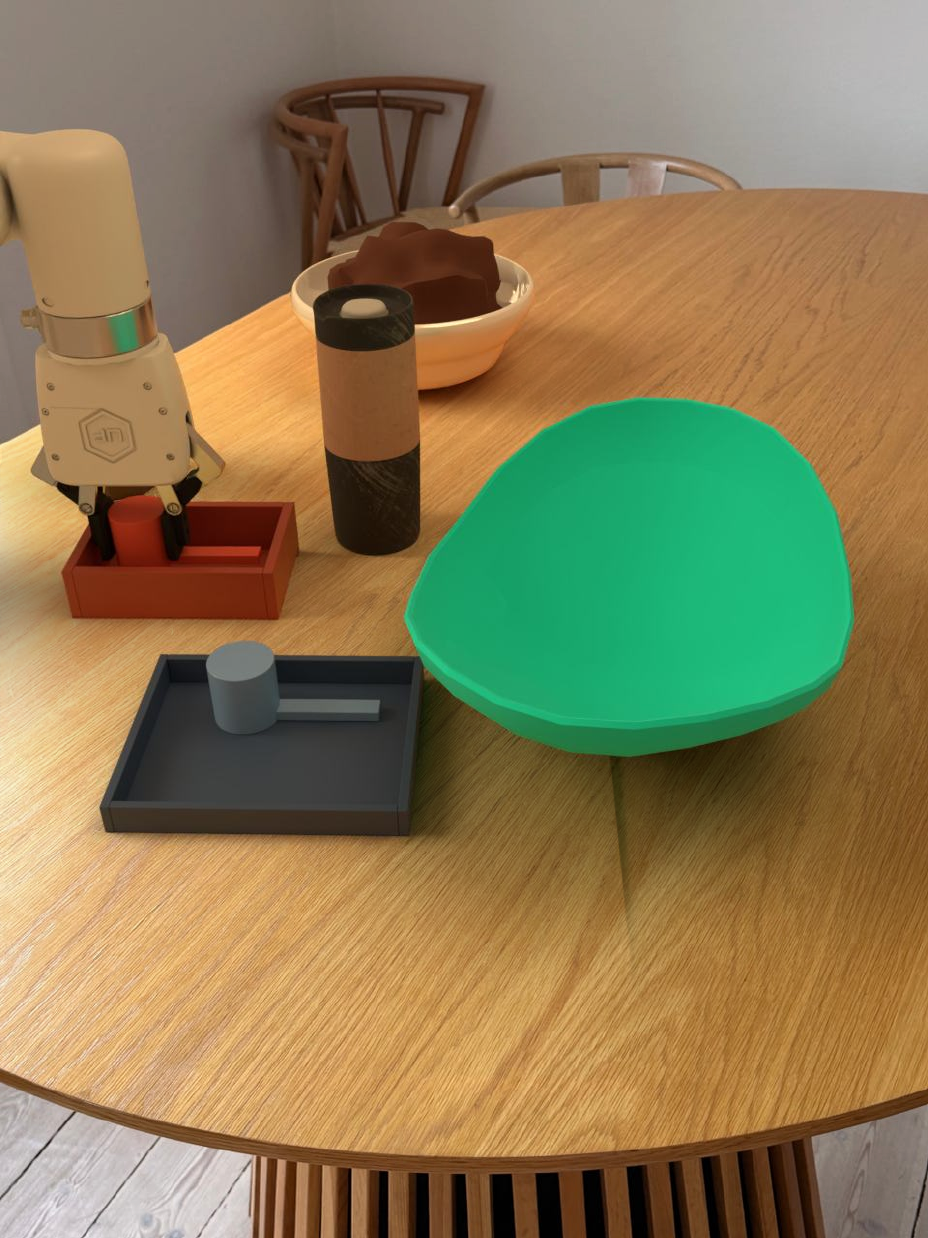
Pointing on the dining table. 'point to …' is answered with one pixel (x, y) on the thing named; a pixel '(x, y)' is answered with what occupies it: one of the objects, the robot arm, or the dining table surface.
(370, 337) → the travel mug
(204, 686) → the dark grey tray
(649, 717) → the table top decor
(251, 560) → the red measuring scoop
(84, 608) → the red bin
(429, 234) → the bowl of brown chunks
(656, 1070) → the dining table surface
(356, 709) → the grey handled cylinder
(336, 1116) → the dining table surface
